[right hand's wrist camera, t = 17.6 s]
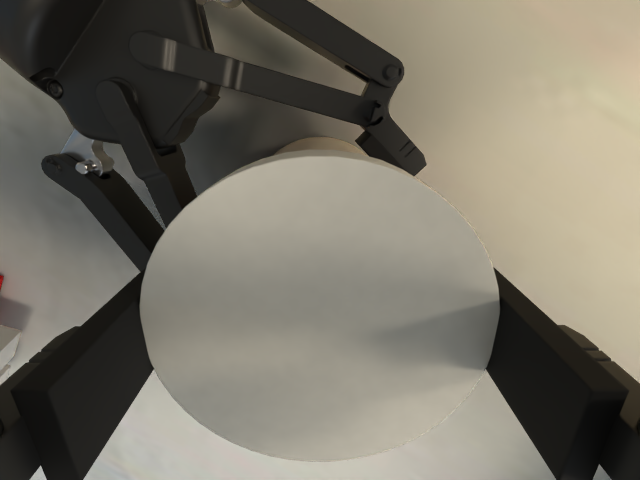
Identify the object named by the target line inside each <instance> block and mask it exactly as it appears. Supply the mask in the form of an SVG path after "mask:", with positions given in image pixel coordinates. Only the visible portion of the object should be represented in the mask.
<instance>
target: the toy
mask: <svg viewBox="0 0 640 480" xmlns="http://www.w3.org/2000/svg"><path fill="white" fill-rule="evenodd" d="M2 281H3V276H1V275H0V290H1V285H2ZM20 335H21V330H17V329H14V328H11V327H7V326H4V325H0V385H1V384H2V383H3V382H4V381H6V380H7V377H8V374H9V371H10V368H11V365H7V363H8V362H9V361H10V360H11V359H12V358H13V357H14V354H15V351H16V348H17V345H18V341H19V338H20Z"/></svg>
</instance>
